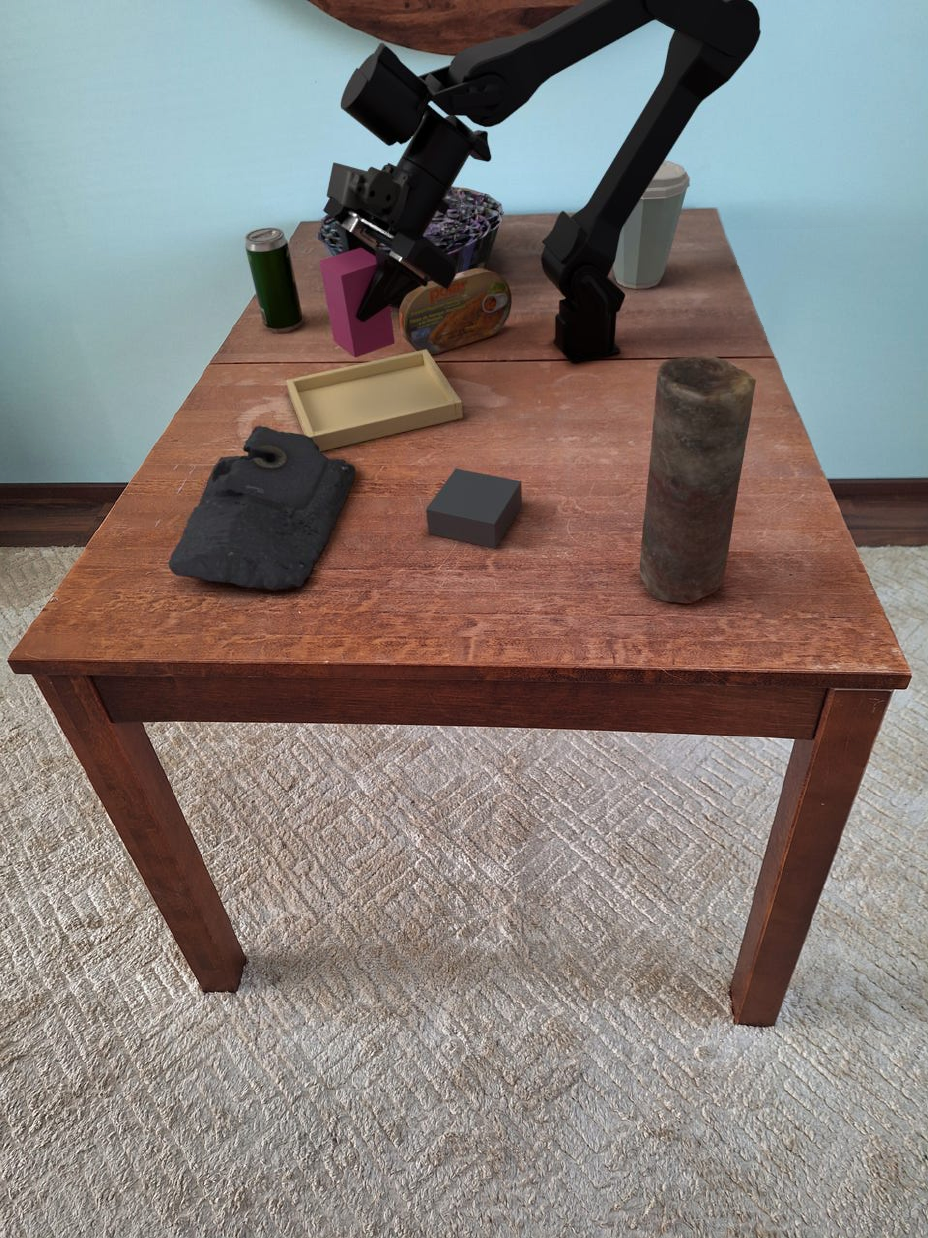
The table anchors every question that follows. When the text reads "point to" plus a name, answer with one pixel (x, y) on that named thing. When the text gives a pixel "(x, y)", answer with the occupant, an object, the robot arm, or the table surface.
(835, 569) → the table surface
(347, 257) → the mulberry block
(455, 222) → the decorative bowl
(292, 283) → the beer can
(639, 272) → the disposable coffee cup
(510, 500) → the base block
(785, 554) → the table surface
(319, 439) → the tray
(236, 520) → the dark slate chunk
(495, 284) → the tin
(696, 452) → the stone cylinder vase
